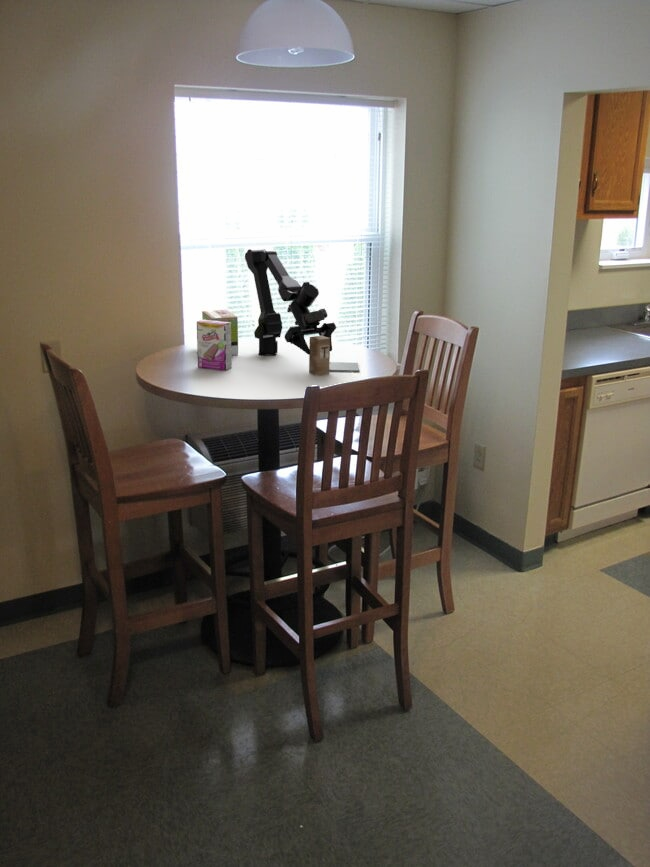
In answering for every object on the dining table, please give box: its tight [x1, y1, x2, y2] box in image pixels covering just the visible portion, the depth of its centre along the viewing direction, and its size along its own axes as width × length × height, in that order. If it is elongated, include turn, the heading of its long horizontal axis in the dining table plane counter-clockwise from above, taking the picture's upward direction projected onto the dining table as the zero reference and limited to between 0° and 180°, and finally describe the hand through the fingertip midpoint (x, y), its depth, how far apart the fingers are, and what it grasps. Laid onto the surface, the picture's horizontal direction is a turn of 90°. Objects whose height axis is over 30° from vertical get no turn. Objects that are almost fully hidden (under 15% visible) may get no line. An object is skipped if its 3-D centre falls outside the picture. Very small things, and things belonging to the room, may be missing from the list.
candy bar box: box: [196, 319, 233, 372], centre depth 264 cm, size 11×5×16 cm, turn 71°
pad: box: [329, 361, 360, 373], centre depth 271 cm, size 11×11×1 cm
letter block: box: [308, 335, 331, 376], centre depth 261 cm, size 5×5×12 cm
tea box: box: [201, 309, 239, 356], centre depth 288 cm, size 15×10×15 cm, turn 23°
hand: (320, 352), depth 260 cm, fingers open, 9 cm apart
